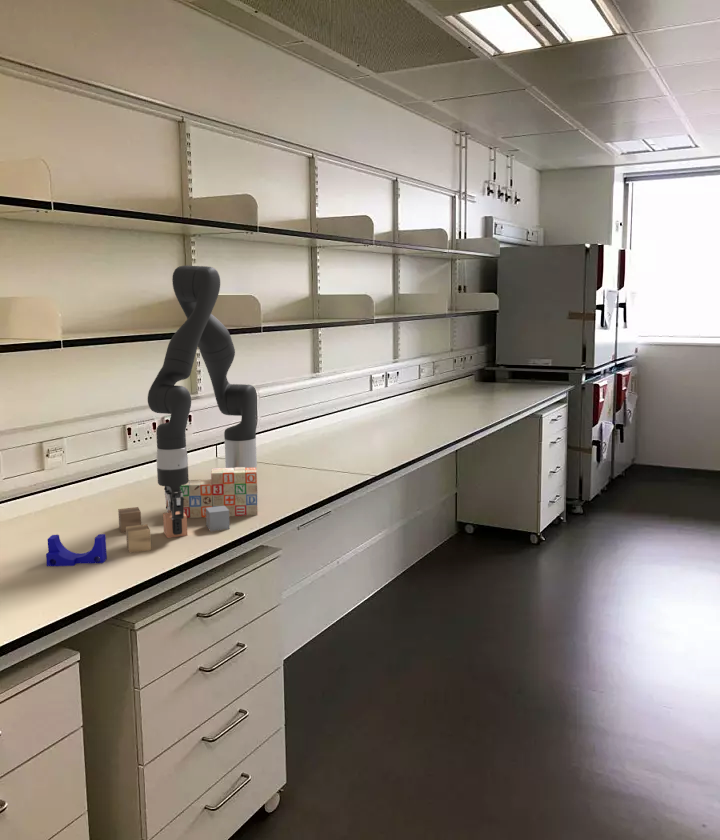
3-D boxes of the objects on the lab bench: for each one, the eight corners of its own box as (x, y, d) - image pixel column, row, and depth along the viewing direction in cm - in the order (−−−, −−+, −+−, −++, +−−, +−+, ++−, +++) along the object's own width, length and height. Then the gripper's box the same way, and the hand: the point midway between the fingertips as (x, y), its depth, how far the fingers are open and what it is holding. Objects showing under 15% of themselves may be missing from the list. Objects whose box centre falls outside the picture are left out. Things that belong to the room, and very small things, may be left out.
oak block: (126, 546, 190) (125, 526, 190) (148, 544, 192) (147, 524, 191) (129, 553, 186) (128, 532, 185) (151, 550, 188) (150, 529, 187)
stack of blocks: (178, 519, 213) (176, 474, 211) (180, 512, 220) (178, 469, 218) (258, 515, 216) (256, 471, 214) (258, 509, 222) (256, 466, 220)
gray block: (206, 526, 206) (205, 507, 206) (225, 524, 208) (224, 505, 208) (210, 531, 202) (209, 512, 201) (229, 529, 204) (229, 510, 203)
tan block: (119, 527, 206) (118, 509, 205) (139, 525, 208) (138, 507, 207) (121, 533, 201) (120, 514, 200) (141, 530, 203) (140, 511, 202)
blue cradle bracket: (46, 566, 177) (45, 541, 176) (54, 560, 181) (52, 534, 180) (100, 566, 177) (99, 540, 176) (106, 559, 182) (105, 534, 181)
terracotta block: (164, 532, 201) (163, 513, 200) (183, 529, 203) (183, 510, 202) (167, 537, 197) (166, 518, 196) (187, 535, 199) (186, 516, 198)
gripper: (193, 469, 192) (196, 537, 195) (182, 458, 205) (185, 521, 208) (161, 472, 189) (165, 541, 192) (152, 460, 202) (156, 525, 205)
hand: (175, 530), depth 200 cm, fingers closed on terracotta block, 5 cm apart
